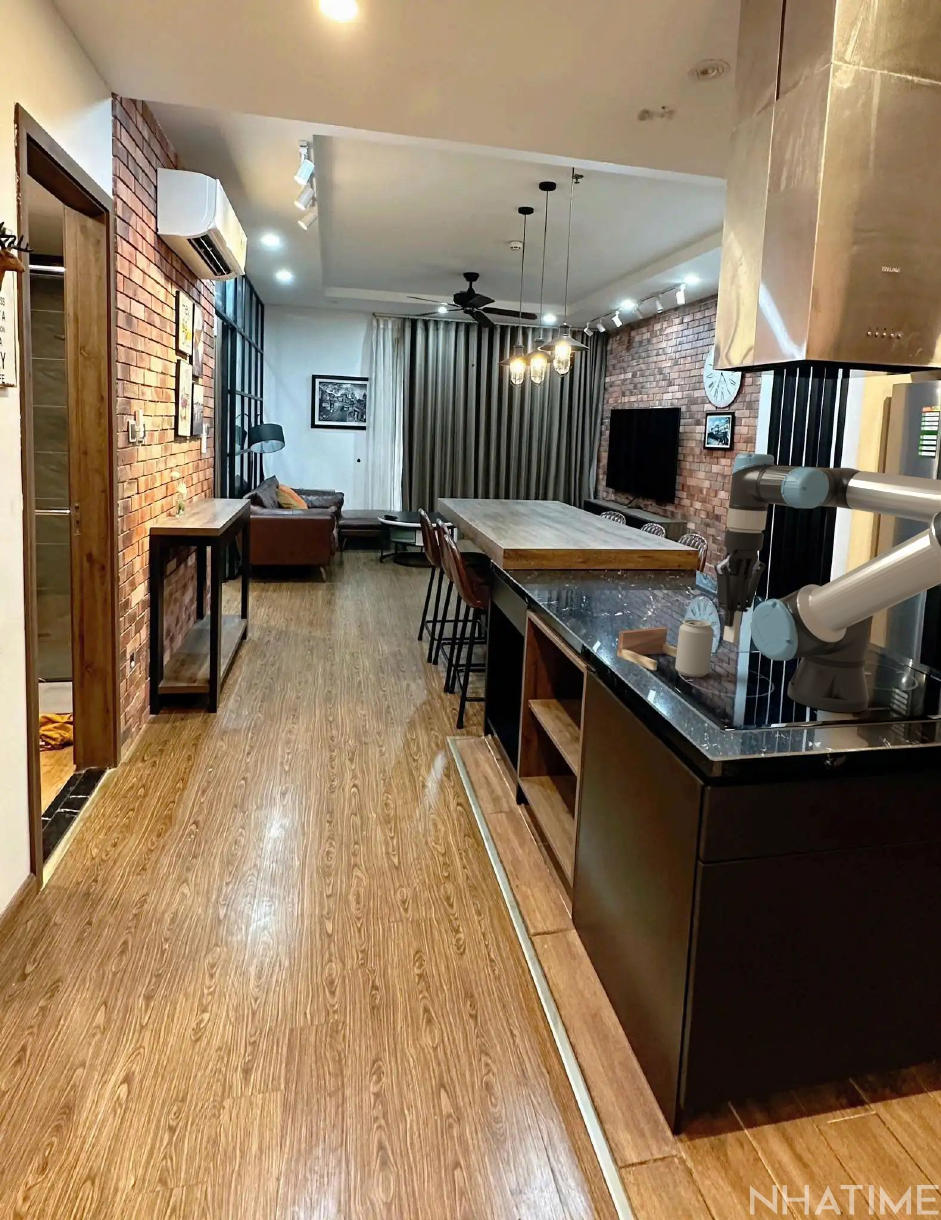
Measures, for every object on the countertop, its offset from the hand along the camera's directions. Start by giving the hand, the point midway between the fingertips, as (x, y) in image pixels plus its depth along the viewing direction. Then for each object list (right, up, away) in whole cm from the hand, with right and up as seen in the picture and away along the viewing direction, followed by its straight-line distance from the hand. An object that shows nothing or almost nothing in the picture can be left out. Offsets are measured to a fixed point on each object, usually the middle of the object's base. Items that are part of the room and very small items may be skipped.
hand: (730, 640), depth 163 cm
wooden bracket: (-11, -5, +21) cm, 24 cm away
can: (-5, -8, +10) cm, 14 cm away
